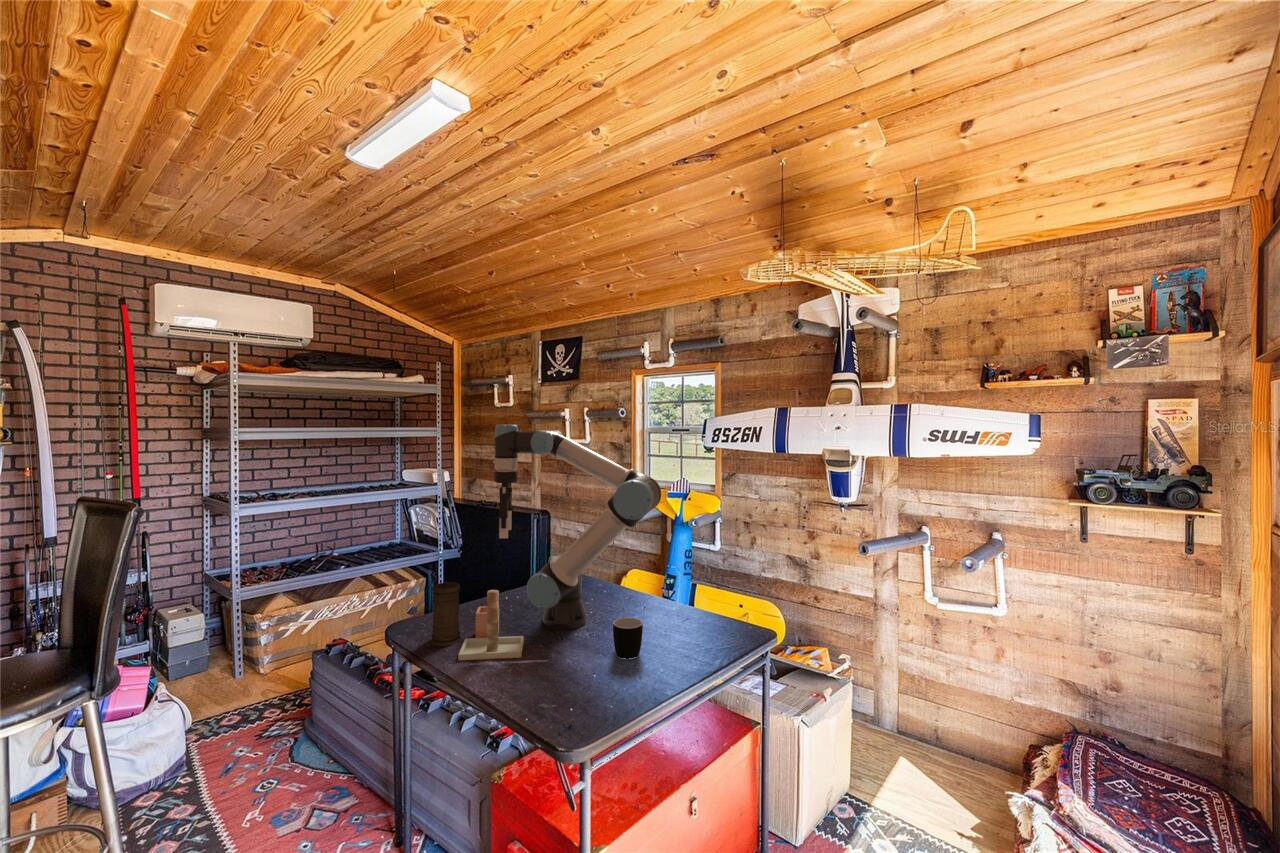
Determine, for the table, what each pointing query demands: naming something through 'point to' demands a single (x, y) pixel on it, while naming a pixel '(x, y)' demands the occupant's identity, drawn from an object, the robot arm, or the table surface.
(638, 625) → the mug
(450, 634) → the container
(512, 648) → the tray
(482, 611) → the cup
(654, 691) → the table surface
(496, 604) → the dowel
